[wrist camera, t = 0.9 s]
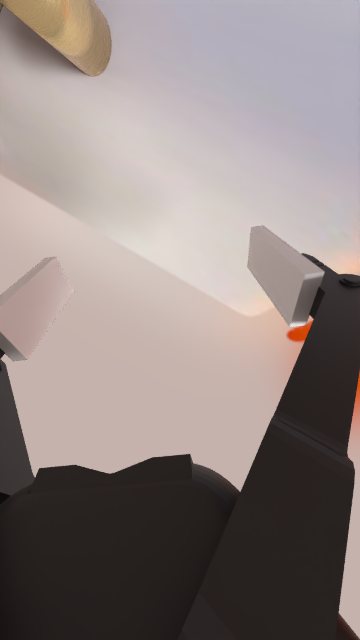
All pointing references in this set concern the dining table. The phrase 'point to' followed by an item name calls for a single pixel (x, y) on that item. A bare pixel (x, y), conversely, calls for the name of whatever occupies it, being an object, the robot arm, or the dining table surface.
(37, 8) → the gold metal cylinder
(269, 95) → the dining table surface
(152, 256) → the dining table surface
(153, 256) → the dining table surface
